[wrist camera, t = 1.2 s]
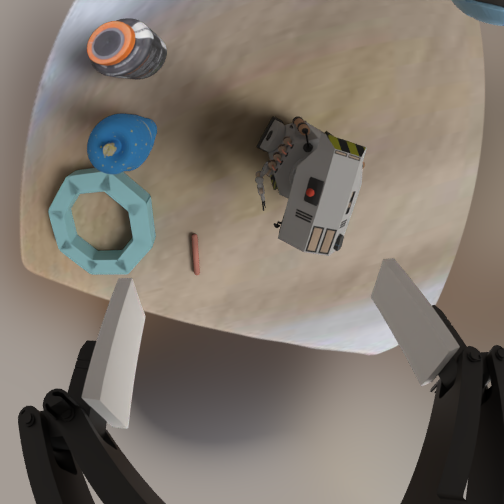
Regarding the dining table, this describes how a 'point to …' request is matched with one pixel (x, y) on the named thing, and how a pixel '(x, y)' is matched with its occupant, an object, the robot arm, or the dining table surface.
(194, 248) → the reddish pink rod
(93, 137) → the ornament
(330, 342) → the dining table surface
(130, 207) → the teal octagonal ring
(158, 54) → the pill bottle
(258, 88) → the dining table surface
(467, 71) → the dining table surface
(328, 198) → the figurine
